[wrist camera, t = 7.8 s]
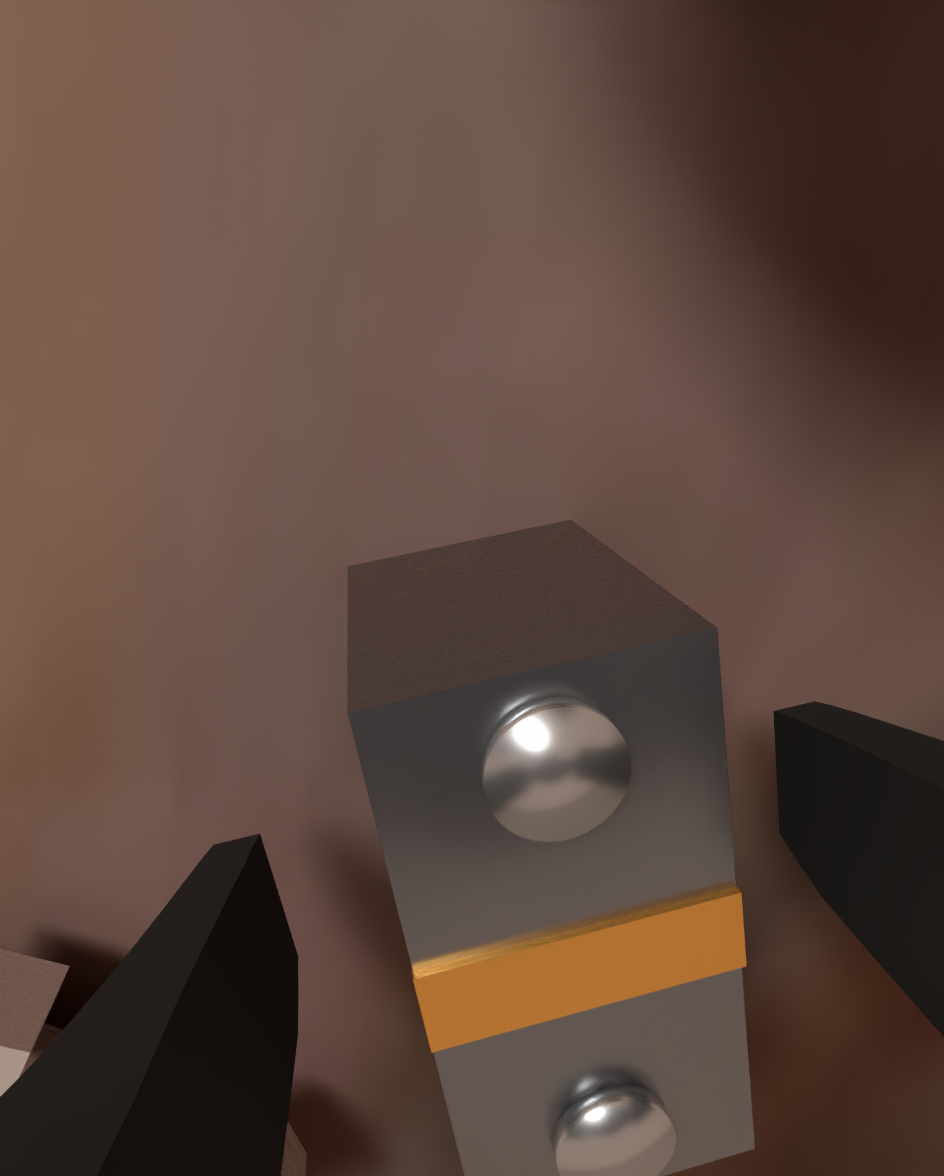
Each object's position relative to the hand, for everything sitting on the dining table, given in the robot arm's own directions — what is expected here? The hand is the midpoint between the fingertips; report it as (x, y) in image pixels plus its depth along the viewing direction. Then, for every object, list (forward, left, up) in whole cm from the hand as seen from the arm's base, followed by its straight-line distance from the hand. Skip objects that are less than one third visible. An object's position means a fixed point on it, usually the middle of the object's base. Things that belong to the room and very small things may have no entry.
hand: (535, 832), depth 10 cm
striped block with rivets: (0, 0, -3) cm, 3 cm away
